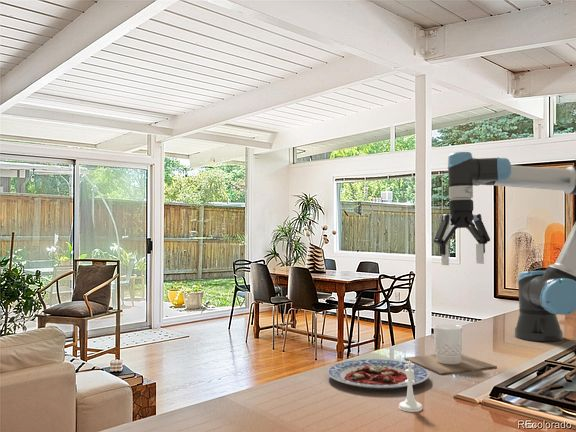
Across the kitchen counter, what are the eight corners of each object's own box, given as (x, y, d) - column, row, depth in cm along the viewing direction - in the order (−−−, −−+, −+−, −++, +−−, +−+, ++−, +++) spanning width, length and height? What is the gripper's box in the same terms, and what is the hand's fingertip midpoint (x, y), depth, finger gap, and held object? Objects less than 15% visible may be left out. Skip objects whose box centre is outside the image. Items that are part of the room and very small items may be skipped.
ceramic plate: (413, 402, 115) (412, 388, 115) (310, 387, 128) (310, 375, 128) (440, 373, 138) (439, 362, 138) (350, 363, 150) (350, 352, 150)
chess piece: (395, 404, 113) (394, 358, 113) (417, 403, 113) (416, 358, 114) (402, 412, 108) (401, 364, 108) (425, 411, 108) (424, 363, 109)
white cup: (465, 365, 142) (464, 329, 142) (435, 364, 144) (434, 328, 144) (461, 358, 150) (460, 324, 150) (433, 358, 151) (432, 323, 152)
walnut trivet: (455, 353, 158) (455, 352, 158) (496, 368, 141) (496, 366, 141) (404, 359, 152) (404, 357, 152) (440, 375, 135) (440, 373, 135)
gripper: (435, 198, 162) (437, 266, 161) (500, 198, 170) (502, 263, 169) (421, 200, 169) (423, 265, 168) (484, 200, 177) (486, 262, 176)
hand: (463, 264), depth 168 cm, fingers open, 13 cm apart
